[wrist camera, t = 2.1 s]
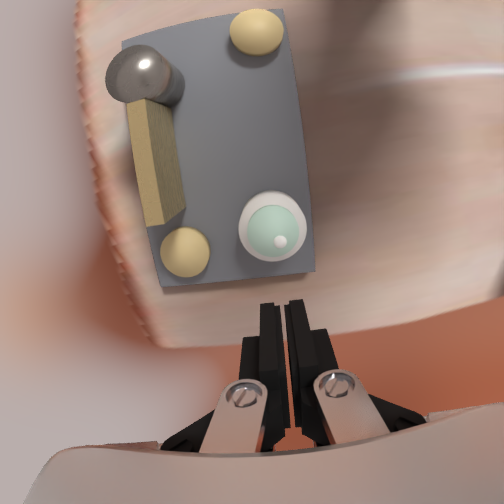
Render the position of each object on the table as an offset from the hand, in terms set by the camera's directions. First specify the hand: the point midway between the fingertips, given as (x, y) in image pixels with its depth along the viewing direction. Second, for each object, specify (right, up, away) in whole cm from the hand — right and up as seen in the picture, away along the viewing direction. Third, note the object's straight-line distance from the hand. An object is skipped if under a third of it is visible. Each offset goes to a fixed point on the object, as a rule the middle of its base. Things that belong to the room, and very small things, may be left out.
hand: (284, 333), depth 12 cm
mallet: (-10, +15, +15) cm, 23 cm away
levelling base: (-5, +14, +18) cm, 23 cm away
